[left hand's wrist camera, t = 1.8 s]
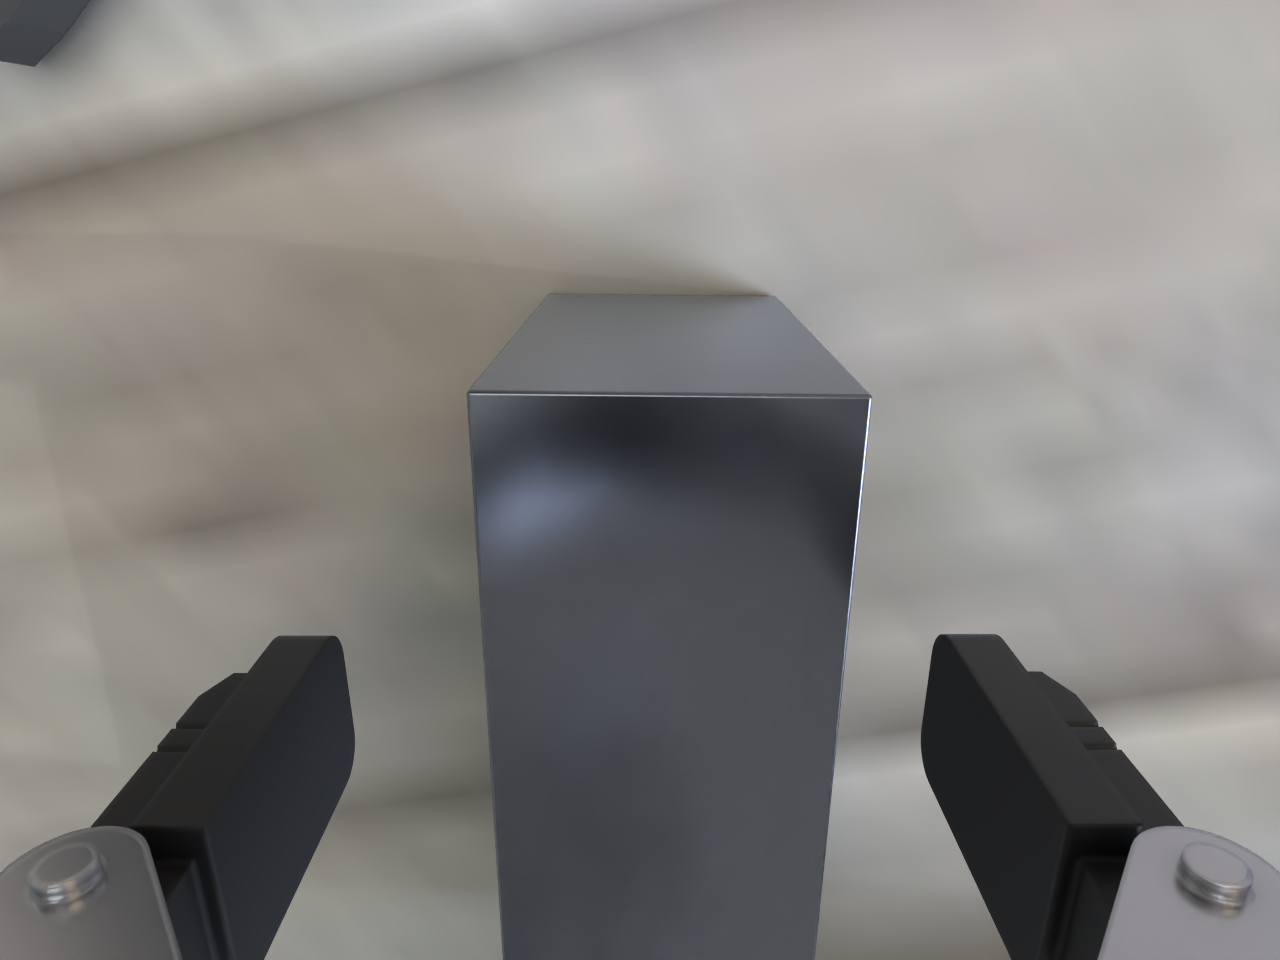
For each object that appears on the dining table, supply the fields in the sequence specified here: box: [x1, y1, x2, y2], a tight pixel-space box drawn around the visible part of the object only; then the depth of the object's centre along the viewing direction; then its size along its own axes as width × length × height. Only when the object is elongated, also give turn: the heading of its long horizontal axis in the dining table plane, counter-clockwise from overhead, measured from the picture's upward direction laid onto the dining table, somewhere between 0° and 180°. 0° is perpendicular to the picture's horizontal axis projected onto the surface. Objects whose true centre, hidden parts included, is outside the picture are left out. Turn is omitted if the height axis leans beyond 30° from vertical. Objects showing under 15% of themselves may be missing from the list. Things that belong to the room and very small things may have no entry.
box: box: [467, 294, 872, 960], centre depth 21 cm, size 20×6×11 cm, turn 0°
